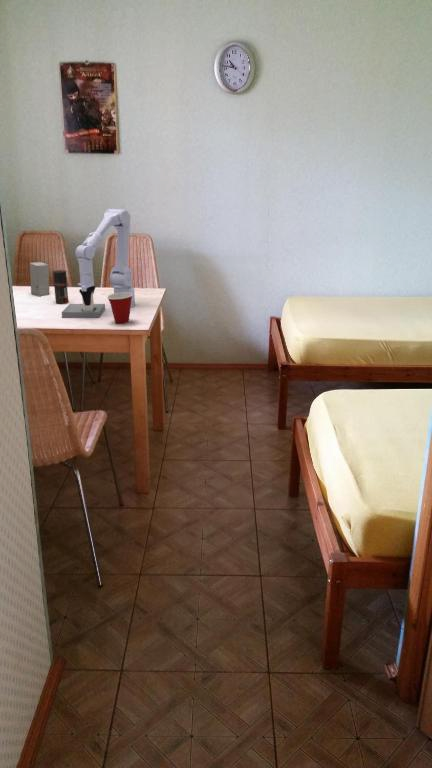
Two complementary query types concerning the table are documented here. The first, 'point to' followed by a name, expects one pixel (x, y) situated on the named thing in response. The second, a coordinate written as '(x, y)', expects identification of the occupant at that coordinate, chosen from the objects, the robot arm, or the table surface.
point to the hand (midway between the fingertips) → (88, 304)
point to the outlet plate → (78, 312)
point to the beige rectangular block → (91, 307)
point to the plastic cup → (120, 306)
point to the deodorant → (60, 287)
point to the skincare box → (39, 279)
